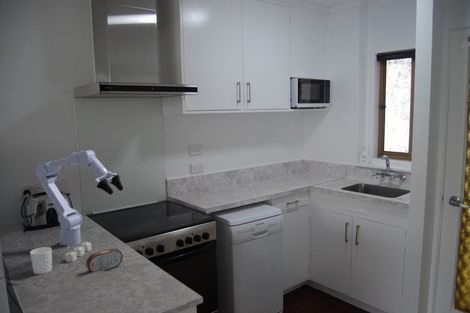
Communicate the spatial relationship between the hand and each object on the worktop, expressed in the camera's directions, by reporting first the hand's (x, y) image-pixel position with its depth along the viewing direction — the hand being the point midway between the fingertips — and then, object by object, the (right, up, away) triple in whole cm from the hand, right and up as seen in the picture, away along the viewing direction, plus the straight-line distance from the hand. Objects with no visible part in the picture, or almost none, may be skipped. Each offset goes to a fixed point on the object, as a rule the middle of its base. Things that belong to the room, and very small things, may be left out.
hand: (117, 191), depth 170 cm
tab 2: (-16, -29, -4) cm, 34 cm away
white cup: (-25, -33, -20) cm, 45 cm away
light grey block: (-15, -28, +2) cm, 32 cm away
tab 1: (-17, -30, -10) cm, 36 cm away
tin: (+1, -32, -17) cm, 36 cm away
